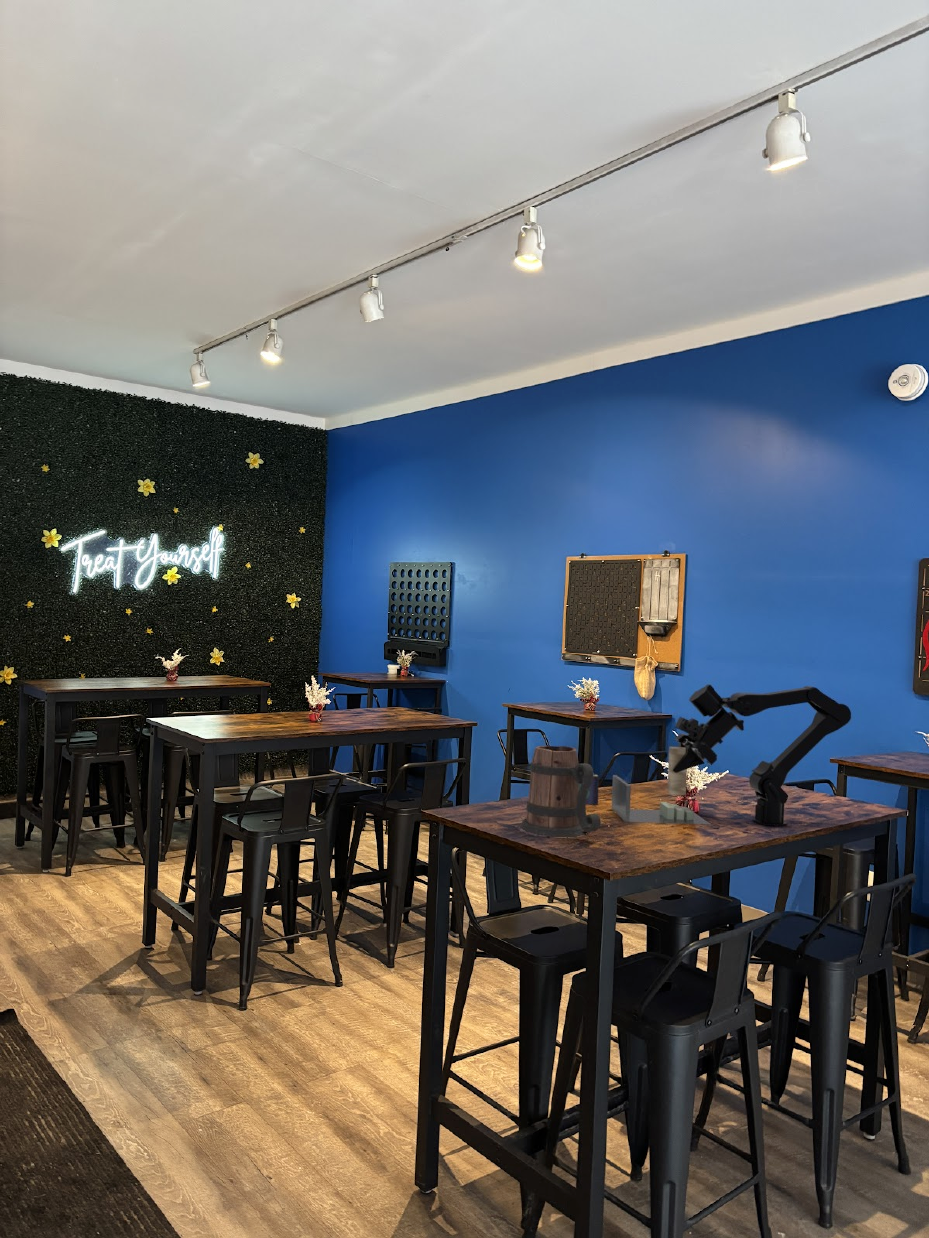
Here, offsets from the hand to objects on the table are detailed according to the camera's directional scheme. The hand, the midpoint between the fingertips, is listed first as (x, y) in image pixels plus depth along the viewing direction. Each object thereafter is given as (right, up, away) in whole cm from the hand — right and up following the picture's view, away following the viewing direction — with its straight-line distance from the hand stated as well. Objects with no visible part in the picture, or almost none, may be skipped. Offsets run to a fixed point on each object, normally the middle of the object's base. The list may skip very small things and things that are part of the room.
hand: (672, 770), depth 242 cm
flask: (-22, -12, +14) cm, 29 cm away
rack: (-3, -13, 0) cm, 13 cm away
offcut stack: (+1, -12, 0) cm, 12 cm away
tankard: (-31, -12, -20) cm, 39 cm away
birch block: (+1, -6, 0) cm, 6 cm away
